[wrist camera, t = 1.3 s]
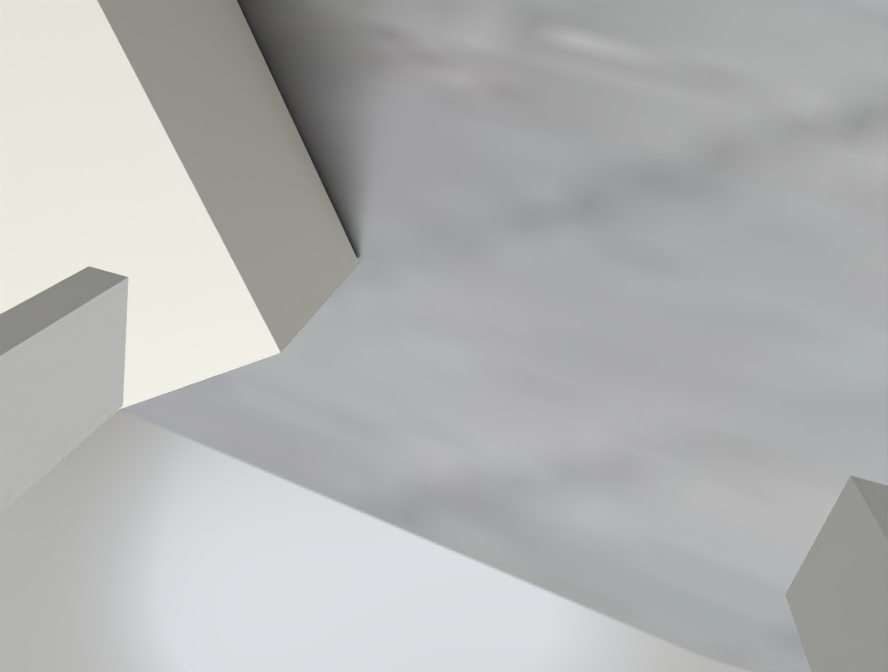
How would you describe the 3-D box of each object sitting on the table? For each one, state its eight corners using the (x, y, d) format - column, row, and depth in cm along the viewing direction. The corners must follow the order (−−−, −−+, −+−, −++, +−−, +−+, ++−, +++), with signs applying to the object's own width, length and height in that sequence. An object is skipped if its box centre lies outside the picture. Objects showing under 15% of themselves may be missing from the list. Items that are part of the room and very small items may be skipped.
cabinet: (-64, -92, 35) (-324, -135, 25) (134, -220, 31) (-74, -329, 21) (175, 332, 41) (46, 434, 31) (359, 263, 38) (280, 352, 28)
